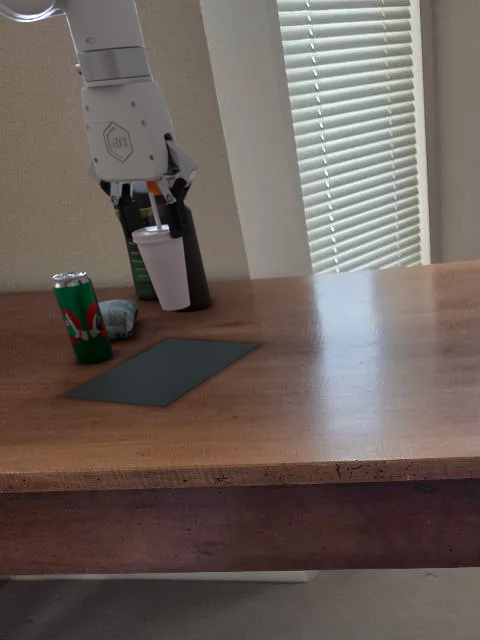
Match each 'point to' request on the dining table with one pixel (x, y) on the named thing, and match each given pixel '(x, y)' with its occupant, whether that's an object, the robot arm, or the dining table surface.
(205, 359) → the mat
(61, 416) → the dining table surface
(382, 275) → the dining table surface
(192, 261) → the vinegar
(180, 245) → the smoothie
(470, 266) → the dining table surface
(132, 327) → the packaged food
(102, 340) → the soda can
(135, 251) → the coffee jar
